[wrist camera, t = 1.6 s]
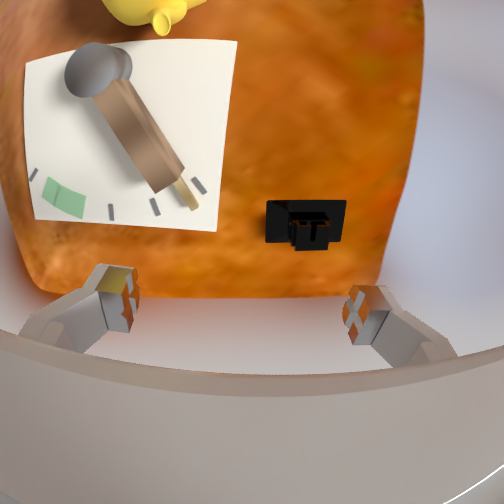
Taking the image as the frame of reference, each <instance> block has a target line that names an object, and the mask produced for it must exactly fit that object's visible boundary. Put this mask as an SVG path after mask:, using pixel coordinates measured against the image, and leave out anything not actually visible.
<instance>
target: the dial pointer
mask: <svg viewBox="0 0 504 504" xmlns="http://www.w3.org/2000/svg"><path fill="white" fill-rule="evenodd" d="M132 68H133V65H132V60H131V57H130V55H129V54H128V53H127V52H126V51H125V50H123V49H121V48H118V47H114V46H110V45H106V44H102V43H97V42H92V43H88V44H85V45H83V46H81V47H80V48H78V49H77V50H76V51H75V52H74V53H73V54H72V55H71V57H70V58H69V60H68V62H67V65H66V68H65V73H64V80H65V84H66V87H67V89H68V90H69V91H70V92H71V93H72V94H73V95H75V96H77V97H81V98H86V97H92V99H93V100H94V102H95V103H96V105H97V107H98V108H99V110H100V111H101V113H102V115H103V116H104V118H105V119H106V121H107V123H108V124H109V126H110V127H111V129H112V130H113V132H114V133H115V135H116V137H117V138H118V140H119V141H120V143H121V144H122V146H123V147H124V149H125V150H126V152H127V153H128V155H129V156H130V158H131V159H132V161H133V162H134V164H135V165H136V167H137V168H138V170H139V171H140V173H141V174H142V176H143V177H144V179H145V180H146V182H147V183H148V184H149V186H150V187H151V189H152V190H153V192H154V193H155V194H156V193H158V192H160V191H161V190H163V189H164V188H166V187H168V186H169V185H171V184H173V185H174V186H175V188H176V189H177V191H178V192H179V194H180V195H181V197H182V198H183V200H184V201H185V203H186V204H187V206H188V207H189V209H190V210H191V212H192V211H194V210H195V209H197V208H198V207H199V203H198V201H197V200H196V198H195V197H194V195H193V194H192V192H191V191H190V189H189V188H188V186H187V184H186V183H185V181H184V180H183V178H182V177H181V174H182V172H183V170H184V169H185V167H184V166H183V164H182V162H181V161H180V159H179V158H178V156H177V155H176V153H175V151H174V150H173V148H172V147H171V145H170V144H169V142H168V141H167V139H166V137H165V136H164V134H163V133H162V131H161V130H160V128H159V126H158V125H157V123H156V122H155V120H154V119H153V117H152V115H151V114H150V112H149V111H148V109H147V107H146V106H145V104H144V103H143V101H142V100H141V98H140V96H139V95H138V93H137V92H136V90H135V88H134V87H133V85H132V84H131V82H130V80H129V79H130V76H131V73H132Z"/></svg>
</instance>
